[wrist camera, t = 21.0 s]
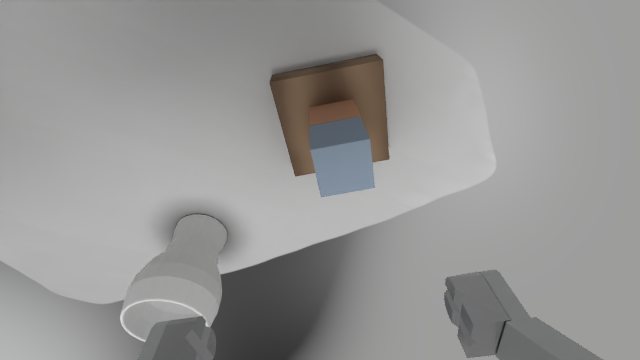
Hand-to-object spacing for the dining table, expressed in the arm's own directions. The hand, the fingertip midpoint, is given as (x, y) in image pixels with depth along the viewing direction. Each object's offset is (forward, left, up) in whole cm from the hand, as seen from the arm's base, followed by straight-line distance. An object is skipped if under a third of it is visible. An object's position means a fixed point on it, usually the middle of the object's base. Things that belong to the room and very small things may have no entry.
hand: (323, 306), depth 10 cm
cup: (-21, -20, -29) cm, 41 cm away
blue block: (+2, -5, -21) cm, 22 cm away
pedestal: (+2, -5, -29) cm, 30 cm away
